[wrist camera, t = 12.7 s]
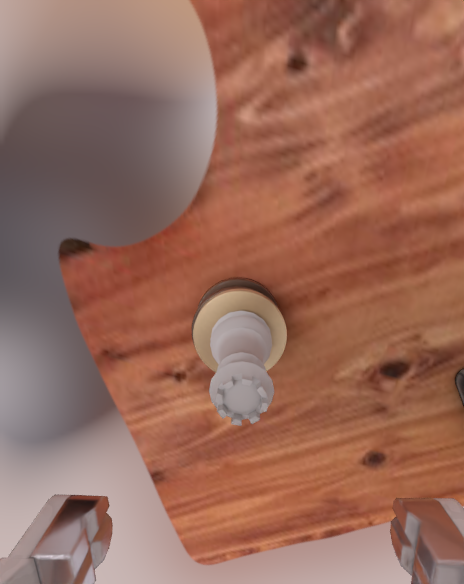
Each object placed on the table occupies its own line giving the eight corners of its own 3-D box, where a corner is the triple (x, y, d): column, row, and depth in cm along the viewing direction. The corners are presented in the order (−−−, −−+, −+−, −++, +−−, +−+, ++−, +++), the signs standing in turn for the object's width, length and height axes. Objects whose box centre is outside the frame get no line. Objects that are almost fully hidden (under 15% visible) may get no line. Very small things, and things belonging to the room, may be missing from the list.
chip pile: (299, 305, 24) (309, 319, 21) (255, 374, 26) (257, 398, 22) (221, 262, 24) (218, 269, 20) (181, 336, 25) (171, 354, 22)
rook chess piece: (256, 373, 22) (265, 455, 14) (202, 351, 22) (180, 423, 14) (281, 322, 21) (305, 380, 13) (224, 299, 21) (215, 344, 13)
